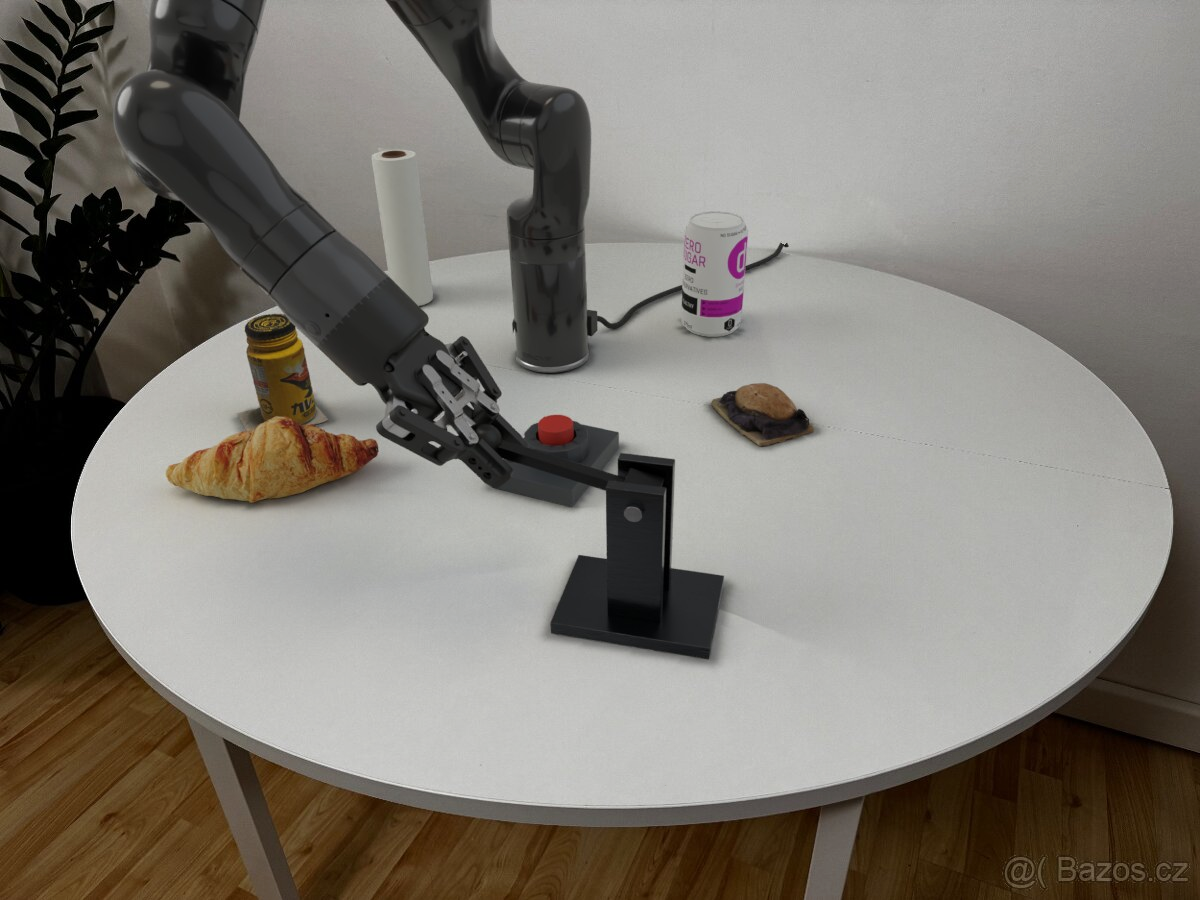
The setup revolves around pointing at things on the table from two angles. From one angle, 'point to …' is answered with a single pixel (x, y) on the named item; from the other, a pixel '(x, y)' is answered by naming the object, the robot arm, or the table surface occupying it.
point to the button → (555, 430)
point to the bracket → (640, 575)
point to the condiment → (278, 373)
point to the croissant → (271, 461)
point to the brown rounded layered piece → (762, 414)
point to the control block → (584, 449)
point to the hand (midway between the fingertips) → (512, 467)
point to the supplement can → (713, 273)
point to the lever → (558, 462)
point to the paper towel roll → (403, 222)
